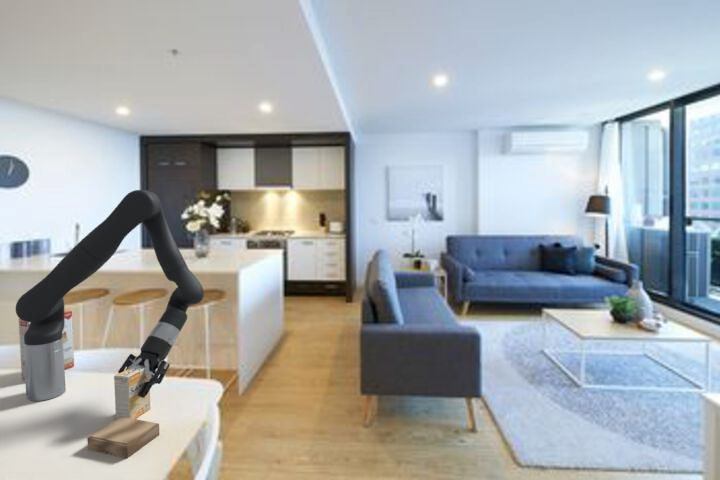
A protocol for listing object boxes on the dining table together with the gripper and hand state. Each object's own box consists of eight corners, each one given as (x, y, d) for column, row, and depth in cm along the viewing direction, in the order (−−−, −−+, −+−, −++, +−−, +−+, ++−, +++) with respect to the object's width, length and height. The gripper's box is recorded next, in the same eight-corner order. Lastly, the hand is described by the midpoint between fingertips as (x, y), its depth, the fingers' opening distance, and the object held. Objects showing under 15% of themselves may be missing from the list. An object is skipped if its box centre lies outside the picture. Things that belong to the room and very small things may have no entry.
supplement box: (130, 423, 110) (128, 377, 109) (115, 421, 111) (112, 375, 110) (151, 408, 118) (150, 365, 117) (137, 406, 119) (135, 363, 118)
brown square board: (87, 449, 99) (87, 436, 99) (122, 427, 109) (121, 415, 108) (127, 458, 96) (127, 445, 96) (159, 434, 105) (159, 422, 105)
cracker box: (32, 382, 134) (28, 320, 132) (21, 379, 136) (16, 318, 134) (75, 366, 147) (72, 309, 145) (64, 363, 149) (61, 308, 147)
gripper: (135, 331, 122) (101, 384, 113) (171, 337, 117) (139, 393, 108) (150, 343, 128) (119, 394, 118) (186, 349, 123) (156, 403, 113)
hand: (129, 393), depth 113 cm, fingers open, 8 cm apart
